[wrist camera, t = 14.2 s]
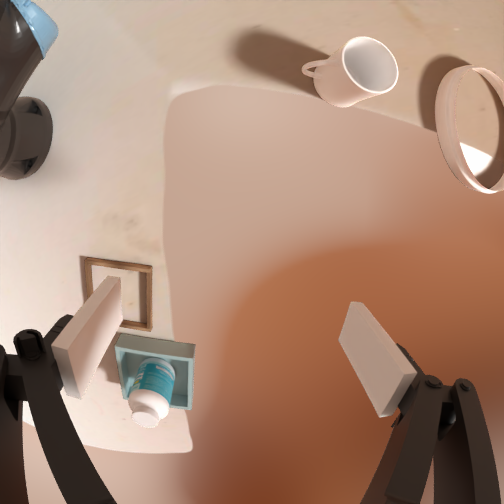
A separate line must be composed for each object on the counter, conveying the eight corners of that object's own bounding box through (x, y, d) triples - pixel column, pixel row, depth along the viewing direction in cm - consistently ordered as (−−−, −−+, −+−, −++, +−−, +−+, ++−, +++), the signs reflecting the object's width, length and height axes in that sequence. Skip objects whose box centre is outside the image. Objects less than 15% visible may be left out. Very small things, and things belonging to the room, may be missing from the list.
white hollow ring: (414, 134, 43) (432, 133, 38) (456, 43, 36) (472, 38, 31) (485, 214, 49) (501, 220, 44) (518, 127, 42) (534, 128, 37)
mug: (291, 100, 40) (312, 83, 29) (293, 51, 37) (313, 22, 26) (361, 111, 41) (400, 102, 30) (362, 65, 38) (398, 45, 27)
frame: (93, 316, 49) (90, 320, 48) (88, 257, 45) (84, 260, 44) (152, 327, 50) (150, 331, 49) (152, 266, 47) (150, 269, 45)
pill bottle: (142, 351, 51) (124, 400, 38) (178, 361, 52) (169, 413, 40) (138, 377, 53) (123, 425, 41) (172, 386, 55) (163, 436, 42)
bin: (128, 385, 55) (123, 399, 51) (121, 333, 51) (114, 346, 46) (193, 395, 57) (191, 410, 53) (195, 344, 52) (193, 358, 48)
